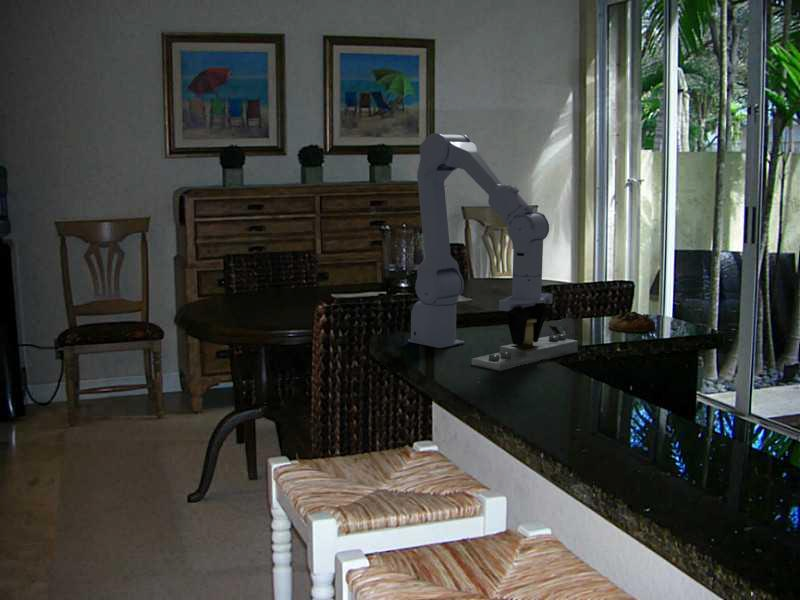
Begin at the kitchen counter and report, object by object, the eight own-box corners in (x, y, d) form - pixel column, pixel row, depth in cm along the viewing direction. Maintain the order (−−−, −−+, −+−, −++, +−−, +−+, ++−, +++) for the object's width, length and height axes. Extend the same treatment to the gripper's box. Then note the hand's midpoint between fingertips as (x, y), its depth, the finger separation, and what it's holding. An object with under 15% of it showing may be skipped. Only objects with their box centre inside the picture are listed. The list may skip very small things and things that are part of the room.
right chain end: (499, 358, 188) (499, 342, 188) (549, 346, 200) (550, 332, 199) (527, 364, 183) (528, 347, 183) (577, 352, 195) (578, 336, 194)
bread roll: (666, 331, 219) (664, 310, 218) (626, 340, 215) (623, 319, 214) (636, 324, 229) (635, 304, 228) (598, 334, 225) (596, 313, 224)
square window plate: (471, 364, 182) (471, 354, 182) (522, 353, 193) (522, 343, 193) (499, 370, 177) (500, 360, 177) (549, 358, 188) (550, 348, 188)
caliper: (572, 342, 206) (573, 314, 205) (567, 342, 206) (568, 314, 205) (553, 325, 226) (554, 299, 225) (548, 325, 226) (549, 299, 225)
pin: (509, 352, 188) (510, 317, 187) (523, 348, 191) (524, 314, 190) (526, 356, 185) (527, 321, 184) (540, 352, 188) (541, 318, 187)
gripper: (520, 280, 178) (518, 351, 180) (566, 273, 188) (563, 341, 190) (491, 276, 183) (489, 345, 185) (537, 270, 193) (535, 336, 195)
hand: (525, 343), depth 188 cm, fingers closed on pin, 4 cm apart
